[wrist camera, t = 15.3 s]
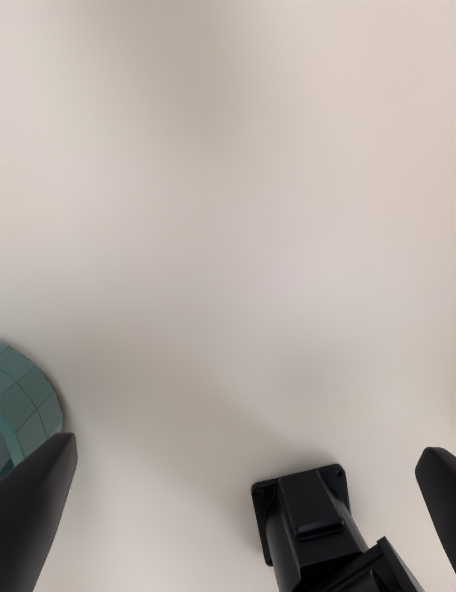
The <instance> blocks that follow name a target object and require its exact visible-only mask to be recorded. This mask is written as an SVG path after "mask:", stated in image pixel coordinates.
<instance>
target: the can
mask: <svg viewBox="0 0 456 592" xmlns="http://www.w3.org/2000/svg"><path fill="white" fill-rule="evenodd" d="M10 458H11V456H10V453H9V451H8V448H7V445H6V442H5V439H4V437H3V435H2V434H1V433H0V471H1V470H2V468H3V467H4V466H5V465H6V463H7V462H8V461H9V459H10Z"/></svg>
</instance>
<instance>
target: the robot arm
mask: <svg viewBox="0 0 456 592" xmlns="http://www.w3.org/2000/svg"><path fill="white" fill-rule="evenodd" d="M76 465H77V447H76V437H75V434H74V433H72V432H57V433H55V434H53V435H52V436H51V437H50V438H49V439H47V440H46V441H45V442H44V443H43V444H41V445H40V446H39V447H38V448H37V449H36V450H34V451H33V452H32V453H31V454H30V455H28V456H27V457H26V458H25V459H24V460H22V461H21V462H20V463H19V464H18V465H17V466H15V467H14V468H13V469H12V470H11V471H9V472H8V473H7V474H6V475H5V476H3V477H2V478H1V479H0V592H33V590H34V587H35V585H36V582H37V580H38V577H39V575H40V573H41V570H42V568H43V565H44V563H45V560H46V558H47V555H48V553H49V551H50V548H51V546H52V543H53V540H54V538H55V535H56V532H57V529H58V526H59V522H60V519H61V516H62V512H63V509H64V506H65V502H66V499H67V496H68V492H69V489H70V486H71V482H72V479H73V476H74V472H75V469H76ZM337 471H339V472H338V473H337V474H335V473H336V472H337ZM415 475H416V479H417V482H418V485H419V487H420V490H421V492H422V495H423V498H424V500H425V503H426V505H427V508H428V511H429V513H430V516H431V519H432V521H433V524H434V526H435V529H436V532H437V534H438V536H439V539H440V541H441V543H442V546H443V548H444V550H445V552H446V554H447V556H448V558H449V561H450V563H451V565H452V567H453V569H454V571H455V573H456V457H455V456H454V455H452V454H451V453H450V452H448V451H447V450H445V449H443V448H440V447H427V448H425V449H424V451H423V453H422V455H421V457H420V459H419V461H418V463H417V466H416V468H415ZM258 490H261V491H260V492H256V491H258ZM251 494H252V499H253V504H254V509H255V514H256V519H257V524H258V528H259V533H260V538H261V543H262V548H263V553H264V558H265V562H266V564H267V565H268V566H273V567H274V571H275V575H276V579H277V584H278V588H279V592H425V591H424V589H423V588H422V587H421V585H420V584H419V582H418V581H417V580H416V578H415V577H414V576H413V574H412V573H411V571H410V570H409V569H408V567H407V566H406V564H405V563H404V562H403V560H402V559H401V558H400V556H399V555H398V553H397V552H396V551H395V549H394V548H393V547H392V545H391V544H390V542H389V541H388V540H387V538H386V537H385V536H384V537H382V538H381V539H379V540H378V541H376V542H377V543H378V544H376V545H375V546H373V547H372V548H370V549H369V548H368V546H367V544H366V543H365V541H364V539H363V537H362V535H361V533H360V532H359V530H358V528H357V526H356V524H355V523H354V521H353V519H352V517H351V511H350V504H349V496H348V489H347V482H346V475H345V471H344V469H343V468H342V466H341V465H339V464H333V465H329V466H325V467H321V468H316V469H312V470H308V471H304V472H300V473H296V474H291V475H287V476H283V477H279V478H275V479H270V480H266V481H262V482H258V483H255V484H253V485H252V487H251Z"/></svg>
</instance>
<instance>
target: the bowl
mask: <svg viewBox="0 0 456 592" xmlns="http://www.w3.org/2000/svg"><path fill="white" fill-rule="evenodd" d="M62 426H63V416H62V412H61V409H60V406H59V403H58V400H57V397H56V393H55V391H54V389H53V387H52V386H51V385H50V383H49V382H48V380H47V379H46V378H45V376H44V375H43V374H42V372H41V371H40V370H39V368H38V367H37V366H36V365H35V364H34V363H32V362H31V361H30V360H28V359H27V358H26V357H24V356H23V355H22V354H20V353H19V352H18V351H16V350H15V349H14V348H12V347H10V346H9V345H6V344H3V343H1V342H0V433H1V434H2V435H3V437H4V439H5V442H6V445H7V448H8V451H9V453H10V456H11V458H10V459H9V461H8V462H7V463H6V465H5V466H4V467H3V468H2V470H1V471H0V479H1V478H2V477H3V476H5V475H6V474H7V473H8V472H9V471H11V470H12V469H13V468H14V467H15V466H17V465H18V464H19V463H20V462H21V461H22V460H24V459H25V458H26V457H27V456H28V455H30V454H31V453H32V452H33V451H34V450H36V449H37V448H38V447H39V446H40V445H41V444H43V443H44V442H45V441H46V440H47V439H49V438H50V437H51V436H52V435H53V434H55V433H57V432H62Z"/></svg>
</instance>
